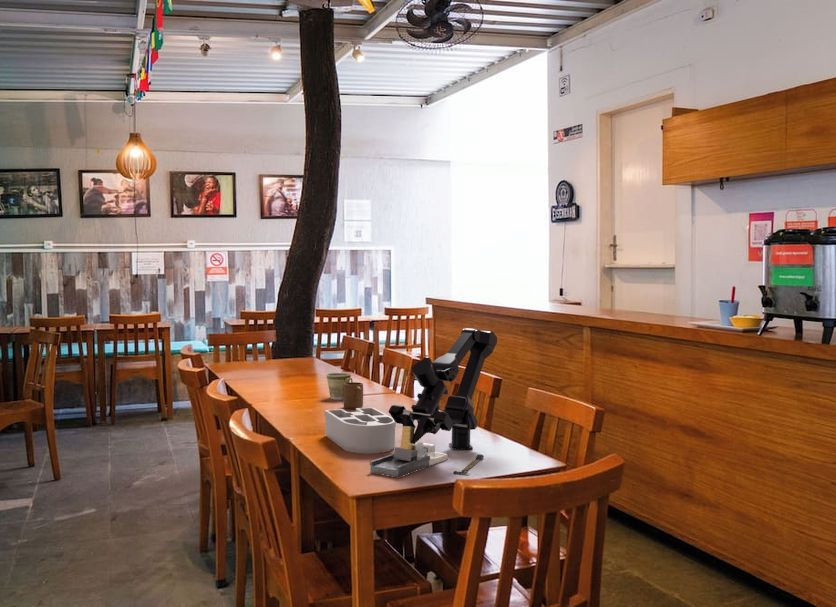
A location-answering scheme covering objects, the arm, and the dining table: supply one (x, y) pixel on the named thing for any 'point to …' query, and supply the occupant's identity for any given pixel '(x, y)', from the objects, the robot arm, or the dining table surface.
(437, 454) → the tray
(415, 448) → the pale grey cube
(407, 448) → the yellow peg on base
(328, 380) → the ceramic cup
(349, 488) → the dining table surface
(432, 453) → the speckled white cube
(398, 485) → the dining table surface
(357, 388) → the mug
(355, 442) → the grey compartment organizer
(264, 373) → the dining table surface
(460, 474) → the tactical tomahawk
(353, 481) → the dining table surface
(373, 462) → the slot deck
